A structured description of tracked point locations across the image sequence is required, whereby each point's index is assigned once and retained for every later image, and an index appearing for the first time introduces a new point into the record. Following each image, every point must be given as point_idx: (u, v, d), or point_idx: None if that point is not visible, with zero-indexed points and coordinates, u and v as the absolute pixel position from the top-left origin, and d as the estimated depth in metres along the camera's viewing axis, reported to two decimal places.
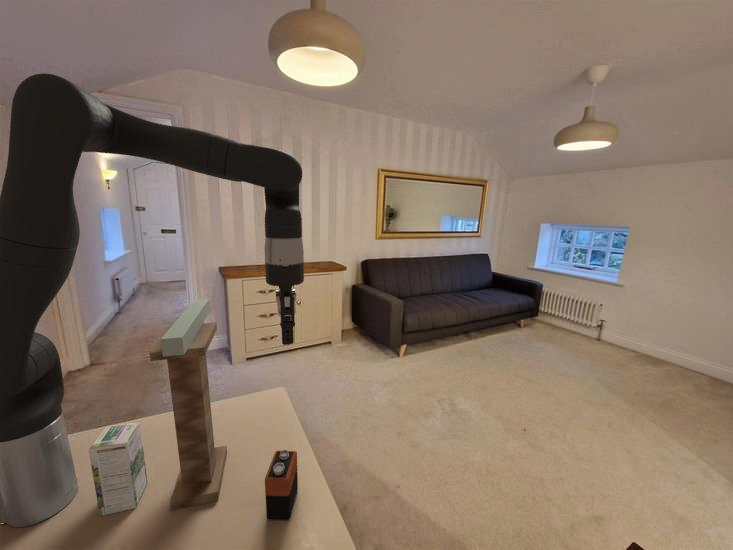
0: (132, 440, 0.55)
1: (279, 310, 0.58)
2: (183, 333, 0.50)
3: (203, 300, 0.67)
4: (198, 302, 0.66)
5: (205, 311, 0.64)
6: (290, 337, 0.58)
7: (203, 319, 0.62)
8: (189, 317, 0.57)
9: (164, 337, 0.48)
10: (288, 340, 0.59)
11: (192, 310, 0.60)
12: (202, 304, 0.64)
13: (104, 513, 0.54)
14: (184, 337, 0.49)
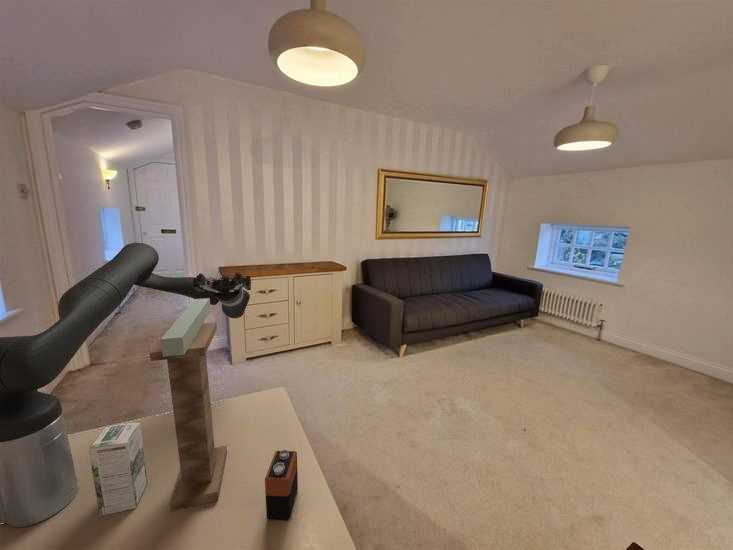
0: (132, 440, 0.55)
1: None
2: (183, 333, 0.50)
3: (203, 300, 0.67)
4: (198, 302, 0.66)
5: (205, 311, 0.64)
6: (241, 279, 0.79)
7: (203, 319, 0.62)
8: (189, 317, 0.57)
9: (164, 337, 0.48)
10: None
11: (192, 310, 0.60)
12: (202, 304, 0.64)
13: (104, 513, 0.54)
14: (184, 337, 0.49)
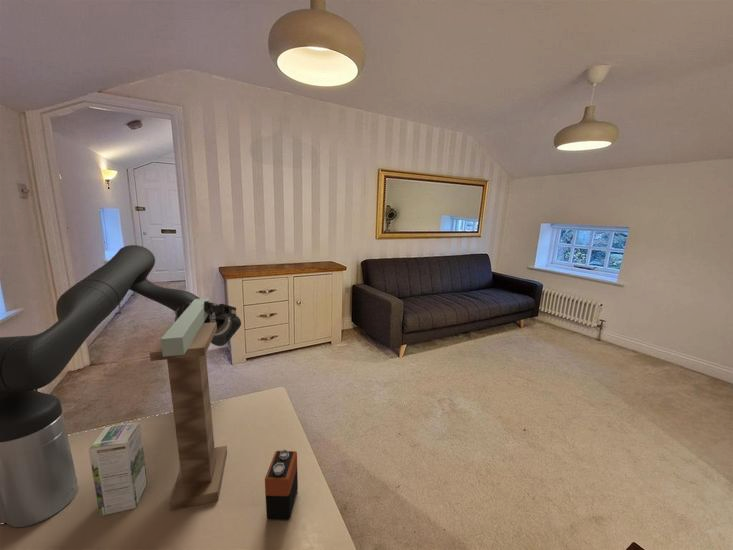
0: (132, 440, 0.55)
1: None
2: (183, 333, 0.50)
3: (203, 300, 0.67)
4: (197, 302, 0.66)
5: None
6: (212, 309, 0.65)
7: (203, 319, 0.62)
8: (189, 317, 0.57)
9: (164, 337, 0.48)
10: (211, 307, 0.65)
11: (192, 310, 0.60)
12: (202, 304, 0.64)
13: (104, 513, 0.54)
14: (184, 337, 0.49)
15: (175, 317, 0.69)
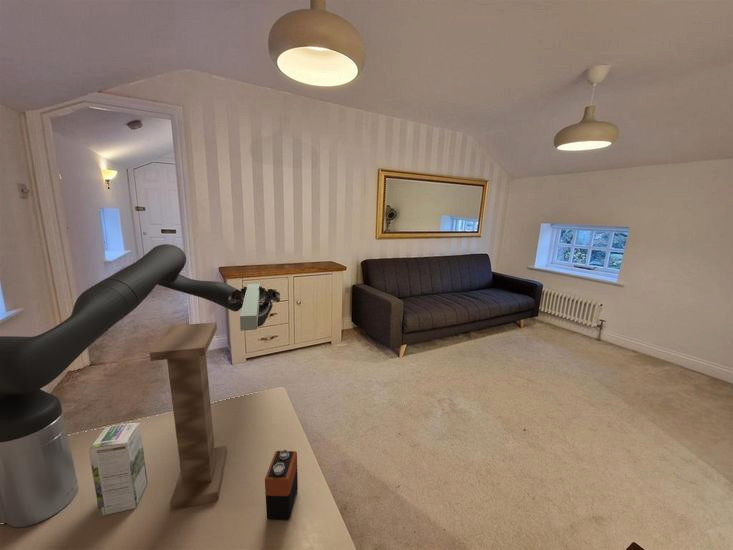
0: (132, 440, 0.55)
1: None
2: (255, 312, 0.60)
3: (255, 285, 0.77)
4: (252, 287, 0.76)
5: None
6: (264, 293, 0.76)
7: None
8: (252, 299, 0.67)
9: (242, 315, 0.58)
10: None
11: (251, 294, 0.70)
12: (257, 289, 0.75)
13: (104, 513, 0.54)
14: (256, 315, 0.60)
15: (229, 299, 0.79)
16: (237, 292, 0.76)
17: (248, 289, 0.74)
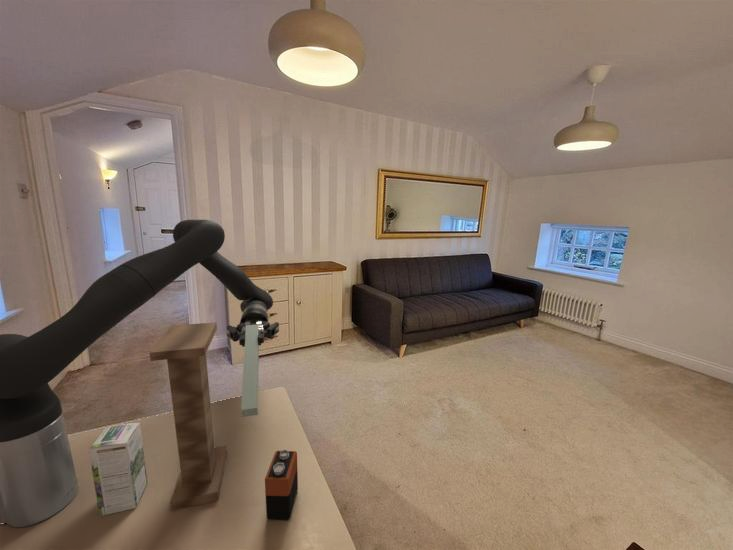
0: (132, 440, 0.55)
1: (262, 326, 0.79)
2: (256, 400, 0.62)
3: (254, 329, 0.75)
4: (250, 333, 0.74)
5: None
6: None
7: (258, 354, 0.73)
8: (251, 367, 0.67)
9: (243, 407, 0.60)
10: None
11: (250, 353, 0.70)
12: (255, 338, 0.73)
13: (104, 513, 0.54)
14: (257, 403, 0.62)
15: (227, 333, 0.78)
16: (235, 334, 0.75)
17: (247, 340, 0.72)
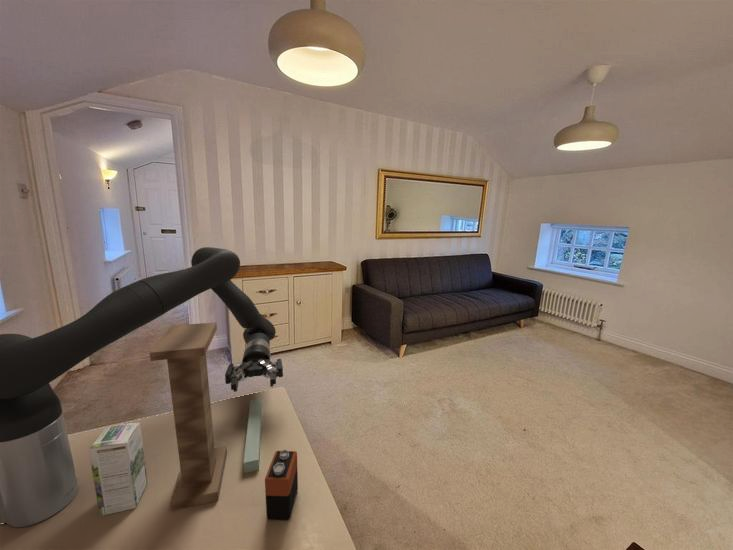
0: (132, 440, 0.55)
1: None
2: (257, 454, 0.66)
3: (258, 402, 0.83)
4: (254, 405, 0.82)
5: (261, 414, 0.81)
6: (275, 381, 0.77)
7: (261, 423, 0.79)
8: (254, 430, 0.73)
9: (245, 460, 0.64)
10: (275, 380, 0.77)
11: (254, 419, 0.77)
12: (259, 409, 0.81)
13: (104, 513, 0.54)
14: (258, 457, 0.66)
15: None
16: (226, 377, 0.76)
17: (251, 410, 0.80)
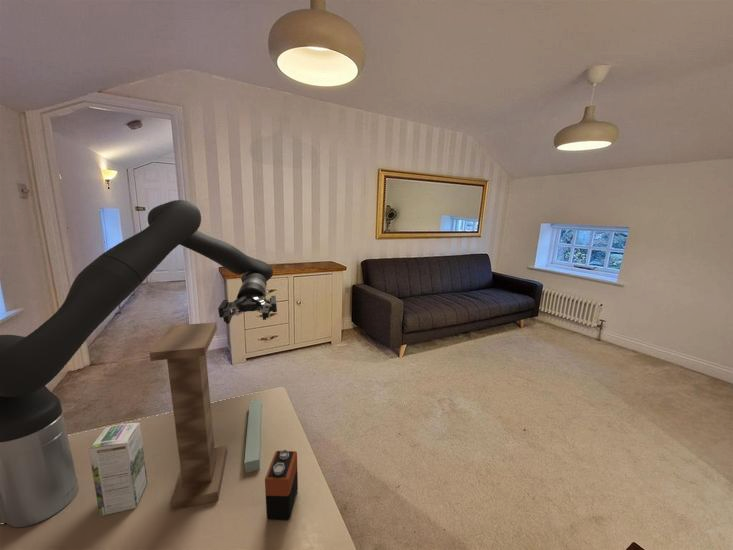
0: (132, 440, 0.55)
1: None
2: (258, 453, 0.66)
3: (257, 402, 0.83)
4: (254, 405, 0.82)
5: None
6: (268, 314, 0.77)
7: None
8: (254, 430, 0.73)
9: (246, 460, 0.64)
10: (268, 314, 0.76)
11: (253, 419, 0.77)
12: (258, 409, 0.81)
13: (104, 513, 0.54)
14: (259, 457, 0.66)
15: None
16: (219, 311, 0.76)
17: (250, 410, 0.80)
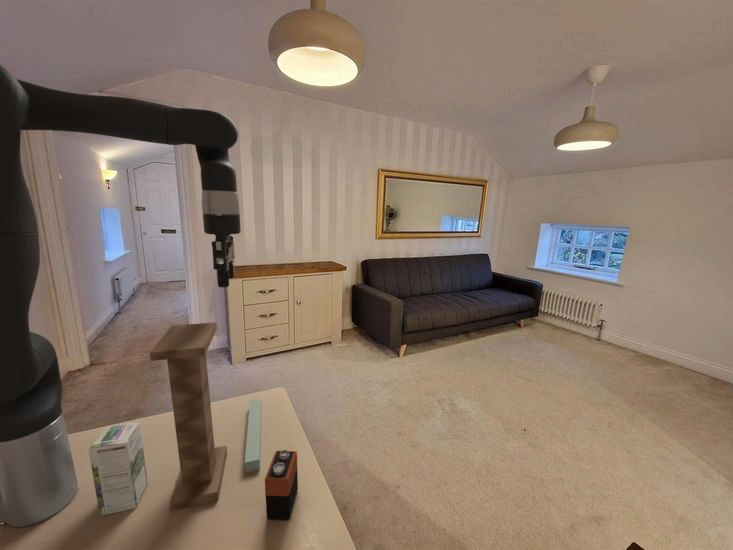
0: (132, 440, 0.55)
1: None
2: (258, 453, 0.66)
3: (257, 402, 0.83)
4: (254, 405, 0.82)
5: None
6: (224, 280, 0.66)
7: None
8: (254, 430, 0.73)
9: (246, 460, 0.64)
10: (223, 283, 0.66)
11: (253, 419, 0.77)
12: (258, 409, 0.81)
13: (104, 513, 0.54)
14: (259, 457, 0.66)
15: None
16: None
17: (250, 410, 0.80)
